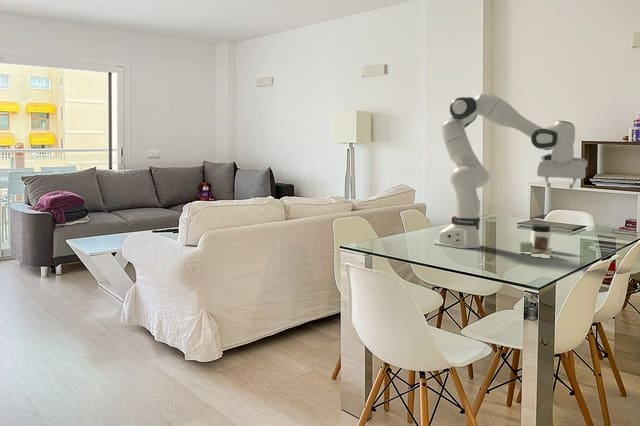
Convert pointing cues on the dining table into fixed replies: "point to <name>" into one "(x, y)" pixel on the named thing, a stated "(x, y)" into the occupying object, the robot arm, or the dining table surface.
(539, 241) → the walnut cube
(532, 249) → the maple slab
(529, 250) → the sage cube
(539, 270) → the dining table surface
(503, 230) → the dining table surface
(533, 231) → the jar
